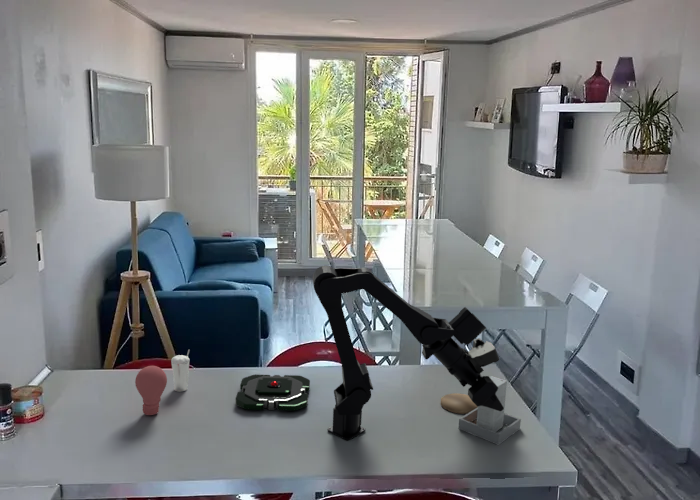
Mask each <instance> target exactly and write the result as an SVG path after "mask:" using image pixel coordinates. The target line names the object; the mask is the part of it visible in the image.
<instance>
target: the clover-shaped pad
mask: <svg viewBox="0 0 700 500" xmlns="http://www.w3.org/2000/svg"><path fill="white" fill-rule="evenodd" d="M310 388H311V380H310V379H309V378H307V377H305V376H302V375H296V374H295V375H293V374H292V375H291V374H290V375H288V374H285V375H283V376H281V375H279V374H274V375H272V376H271V375H270V374H251V375H248V376H246V377H243V378H241V381H240V386H239V389H240V390H241V391H237V392H236V396H235V399H234V400H235V405H236V406H237V407H239V408H241V409H243V410H250V411H251V410H252V411H253V410H254V411H255V410H257V411H262V410H264V409H267V410H268V411H275V409H277V410H278V411H287V412H288V411H291V412H292V411H293V412H294V411H298V410H301V409H303V408H305V407H308V405H309V393H307V392H309V391H310V390H311V389H310Z"/></svg>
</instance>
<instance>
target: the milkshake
mask: <svg viewBox="0 0 700 500" xmlns="http://www.w3.org/2000/svg"><path fill="white" fill-rule="evenodd" d="M190 351H191V350H190V349H188V350H187V354H186V355H183V354H181V355H180V354H178V355H177V354H176V355H175V356H173V357H172V358H171V360H170V361H171V363H170V364H171V369H172V378H173V379H172V380H173V389H174V391H176V392H178V393H180V392H185V391H187V390H188V388H189V386H188V385H189V371H190V358H189V354H190Z"/></svg>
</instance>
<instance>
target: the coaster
mask: <svg viewBox="0 0 700 500" xmlns="http://www.w3.org/2000/svg"><path fill="white" fill-rule="evenodd" d="M440 406H441V407H442V408H443V409H444V410H446V411H448V412H450V413H454V414H458V415H459V414H460V415H466V414H468V413H469V412H471V411H472V410H474V409H476V408H477V406H476V405H475V403H474V402H473V401H472V400H471V399H470V397H469V396H468V394H466V393H465V394H464V393H448V394H445V395H443V396H442V397H440Z"/></svg>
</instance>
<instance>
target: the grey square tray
mask: <svg viewBox="0 0 700 500" xmlns="http://www.w3.org/2000/svg"><path fill="white" fill-rule="evenodd" d="M477 413H478V407H477V408H476V409H474V410H472V411H471V412H469V413H468V414H463V416H462V417H460V418H458V428H457V429H459V430H461V431H463V432H466V433H469V434H471V435H473V436H475V437H478V438H481V439H484V440H486V441H488V442H490V443H493V444H494V445H495V444H496V445H497V446H499V445H500V444H501V443H503V442H504V441H506V440H507V439H508V438H509V437H511V436H512V435H514V434H515V433H516V432H518V431H519V430H520V429H521V422H522V419H521V418H519V417H516V416H513V415H511V414H508V413H506V412H504V420H503V425H505V426H507V427H505V428H503V429H502V430H500V431H497V432H494V431H492V430H489V429H487V428H484V427H481V426H479V425H477V423H474V422H475V420H477Z"/></svg>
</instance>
